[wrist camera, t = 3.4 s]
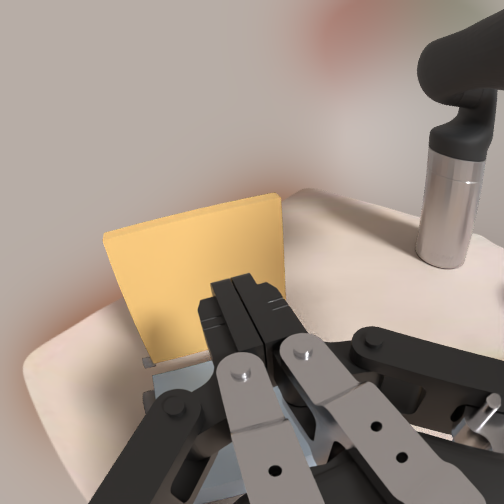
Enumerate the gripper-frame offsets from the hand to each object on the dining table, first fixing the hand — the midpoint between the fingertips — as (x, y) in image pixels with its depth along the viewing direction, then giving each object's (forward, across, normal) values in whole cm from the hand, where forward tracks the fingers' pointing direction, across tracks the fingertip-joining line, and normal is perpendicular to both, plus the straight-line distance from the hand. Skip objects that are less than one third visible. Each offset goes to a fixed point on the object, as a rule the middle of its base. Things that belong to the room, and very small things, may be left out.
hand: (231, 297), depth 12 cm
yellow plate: (+12, 0, +14) cm, 18 cm away
